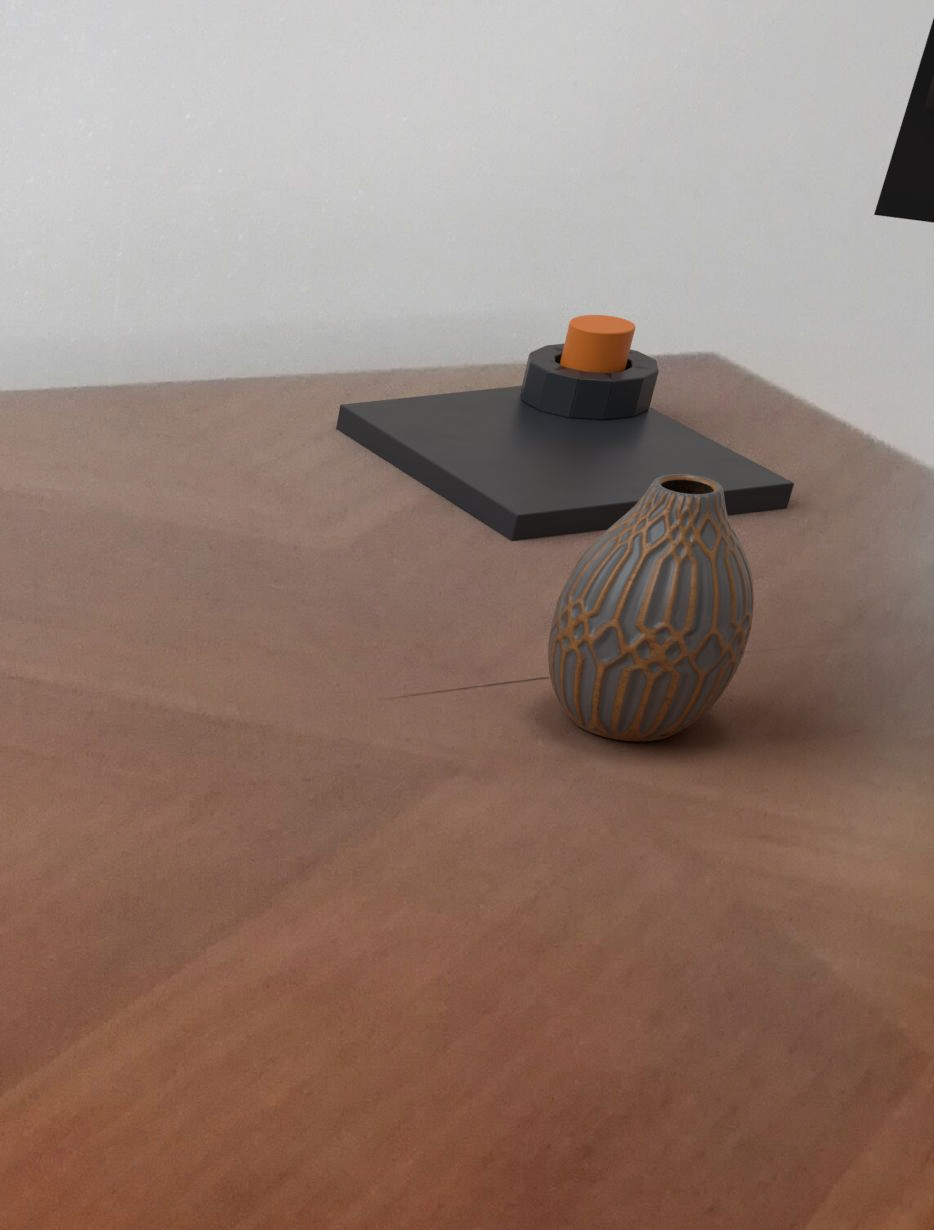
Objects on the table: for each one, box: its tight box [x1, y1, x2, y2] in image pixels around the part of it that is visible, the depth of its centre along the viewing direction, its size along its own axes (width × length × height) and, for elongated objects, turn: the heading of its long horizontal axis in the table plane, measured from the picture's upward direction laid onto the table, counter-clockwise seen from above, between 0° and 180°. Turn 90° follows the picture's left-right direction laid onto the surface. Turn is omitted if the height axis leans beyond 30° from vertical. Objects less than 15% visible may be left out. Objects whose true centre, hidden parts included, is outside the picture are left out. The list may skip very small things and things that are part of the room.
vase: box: [547, 474, 755, 742], centre depth 91 cm, size 7×7×9 cm
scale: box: [335, 343, 795, 542], centre depth 114 cm, size 16×14×3 cm
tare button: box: [560, 314, 636, 373], centre depth 117 cm, size 3×3×2 cm
